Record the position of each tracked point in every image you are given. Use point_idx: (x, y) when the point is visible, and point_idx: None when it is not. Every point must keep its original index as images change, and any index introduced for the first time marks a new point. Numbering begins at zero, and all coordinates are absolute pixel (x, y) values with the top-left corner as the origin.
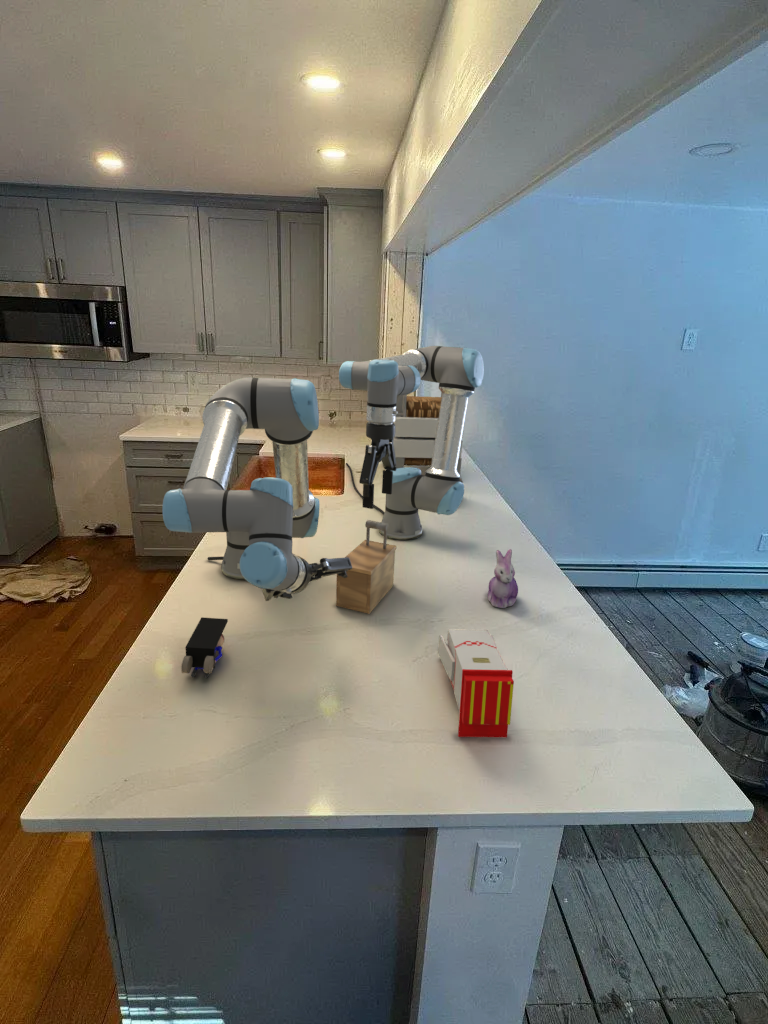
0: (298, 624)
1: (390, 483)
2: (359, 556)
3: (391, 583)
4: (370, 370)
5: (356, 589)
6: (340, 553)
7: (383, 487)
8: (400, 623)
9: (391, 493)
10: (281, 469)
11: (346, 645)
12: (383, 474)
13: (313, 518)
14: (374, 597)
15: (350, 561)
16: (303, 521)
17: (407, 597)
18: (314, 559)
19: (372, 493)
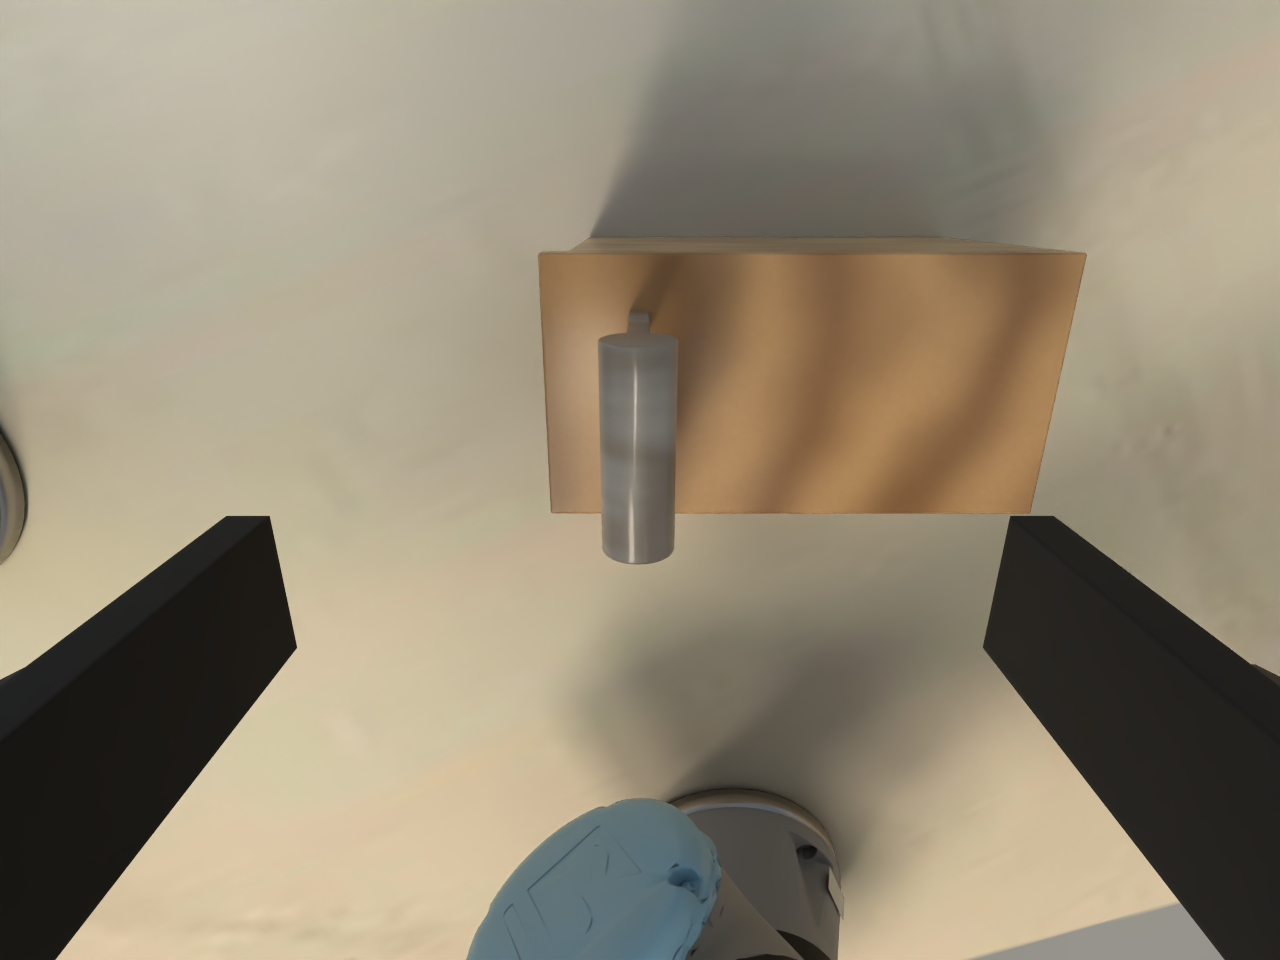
0: (1120, 496)
1: (157, 632)
2: (856, 432)
3: (622, 238)
4: None
5: None
6: (378, 635)
7: (244, 687)
8: (991, 29)
9: (236, 520)
10: None
11: (1261, 221)
12: (75, 910)
13: (709, 908)
14: (904, 240)
15: (959, 453)
16: (762, 931)
17: (686, 102)
18: (510, 704)
19: (1250, 666)
